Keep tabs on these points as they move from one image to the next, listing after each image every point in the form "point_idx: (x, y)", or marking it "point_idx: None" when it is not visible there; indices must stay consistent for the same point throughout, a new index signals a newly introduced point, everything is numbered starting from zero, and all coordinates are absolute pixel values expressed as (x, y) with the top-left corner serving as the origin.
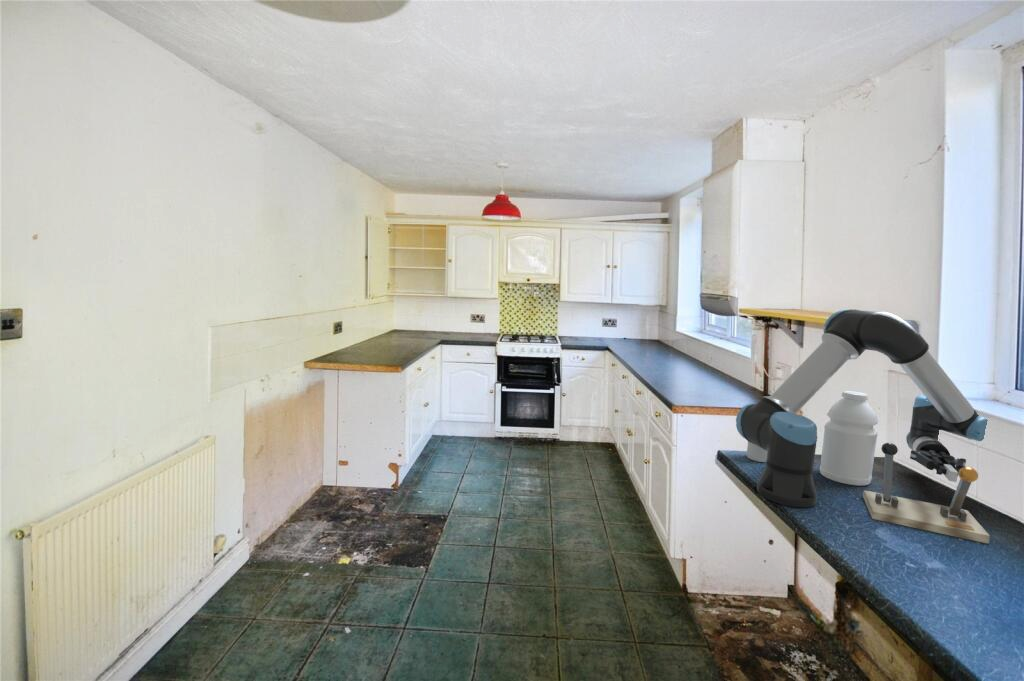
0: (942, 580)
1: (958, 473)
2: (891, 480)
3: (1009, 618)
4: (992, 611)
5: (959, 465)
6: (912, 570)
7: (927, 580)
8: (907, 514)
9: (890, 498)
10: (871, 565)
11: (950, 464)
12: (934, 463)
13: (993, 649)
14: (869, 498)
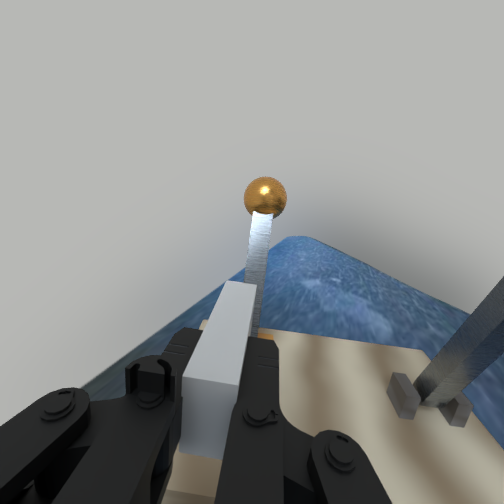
0: (308, 269)
1: (285, 203)
2: (449, 343)
3: (271, 251)
4: (280, 253)
5: (70, 403)
6: (333, 274)
7: (321, 267)
8: (355, 359)
9: (417, 379)
10: (368, 274)
11: (175, 387)
12: (306, 455)
13: (292, 240)
14: (486, 436)
